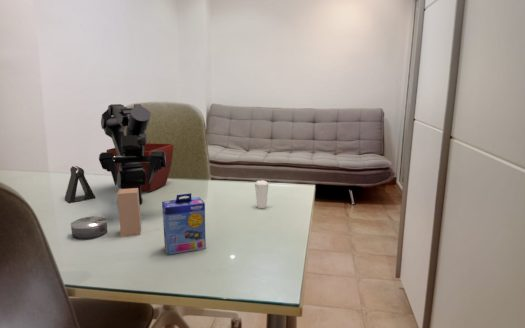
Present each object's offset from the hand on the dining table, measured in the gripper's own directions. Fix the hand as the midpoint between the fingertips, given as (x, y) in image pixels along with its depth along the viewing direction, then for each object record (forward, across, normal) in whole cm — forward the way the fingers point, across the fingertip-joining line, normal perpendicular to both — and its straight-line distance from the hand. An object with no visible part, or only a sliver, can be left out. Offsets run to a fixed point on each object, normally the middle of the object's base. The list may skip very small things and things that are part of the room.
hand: (132, 183), depth 110 cm
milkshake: (+3, +40, +14) cm, 43 cm away
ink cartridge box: (+24, +15, -7) cm, 29 cm away
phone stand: (-13, -24, +31) cm, 41 cm away
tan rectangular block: (+14, 0, +3) cm, 14 cm away
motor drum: (+13, -11, +4) cm, 17 cm away
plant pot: (-21, -2, +39) cm, 45 cm away
